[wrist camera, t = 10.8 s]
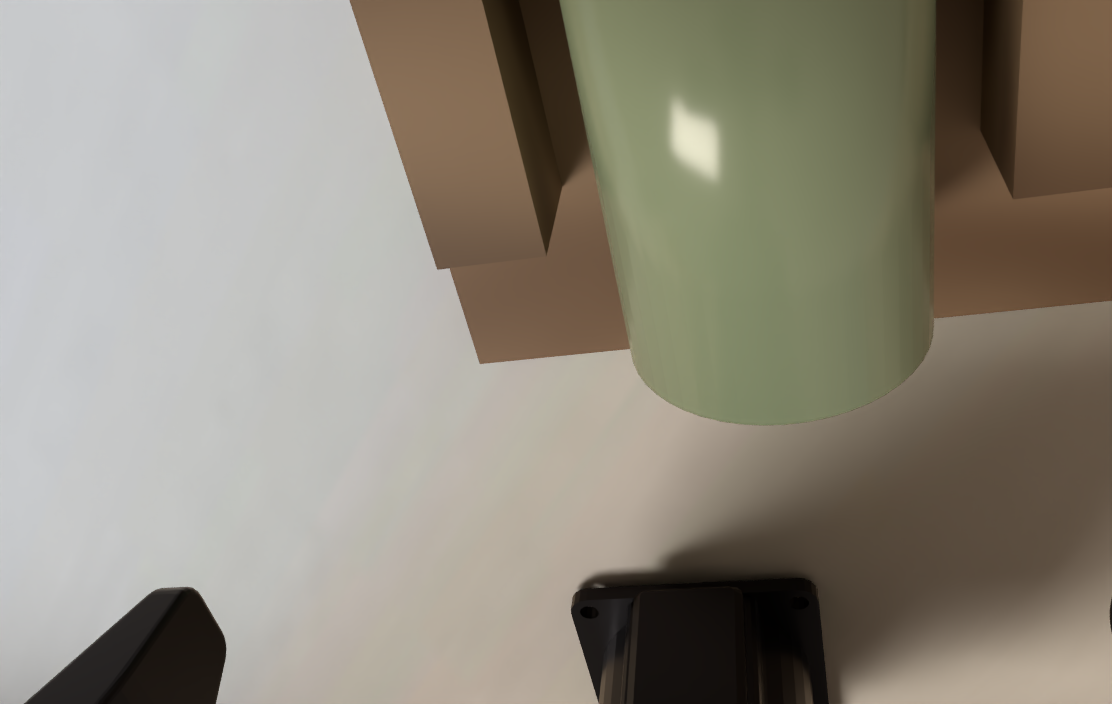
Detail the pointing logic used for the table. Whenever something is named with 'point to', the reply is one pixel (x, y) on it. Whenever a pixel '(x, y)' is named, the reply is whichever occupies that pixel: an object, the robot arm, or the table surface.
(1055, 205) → the walnut U-rest
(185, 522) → the table surface
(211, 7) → the table surface
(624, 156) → the olive bottle
